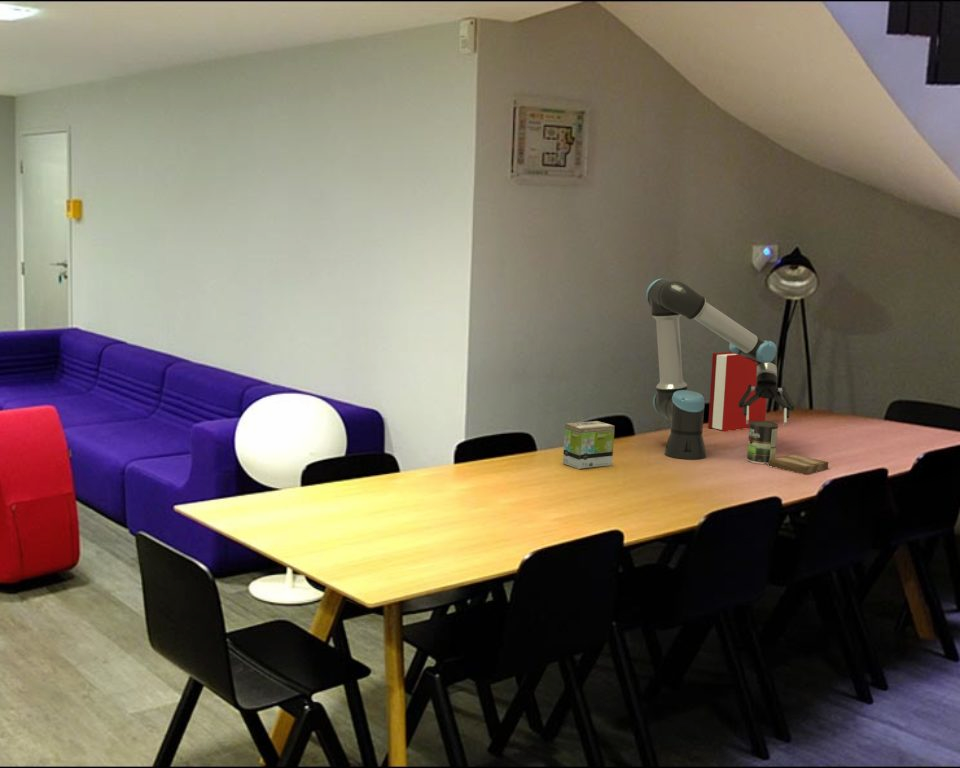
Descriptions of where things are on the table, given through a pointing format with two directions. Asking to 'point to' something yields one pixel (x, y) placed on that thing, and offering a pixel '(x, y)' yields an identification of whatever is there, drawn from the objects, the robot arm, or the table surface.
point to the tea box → (588, 444)
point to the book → (733, 392)
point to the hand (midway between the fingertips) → (766, 423)
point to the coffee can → (762, 441)
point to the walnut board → (798, 464)
